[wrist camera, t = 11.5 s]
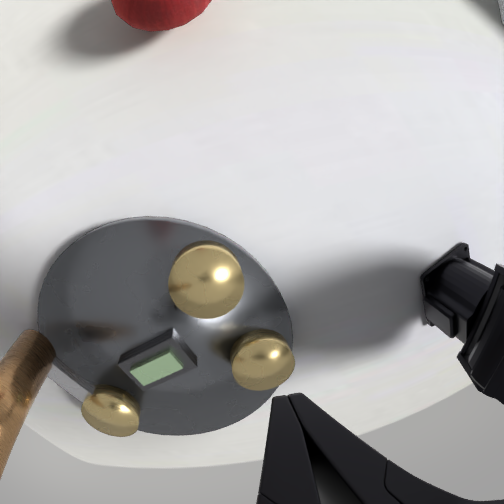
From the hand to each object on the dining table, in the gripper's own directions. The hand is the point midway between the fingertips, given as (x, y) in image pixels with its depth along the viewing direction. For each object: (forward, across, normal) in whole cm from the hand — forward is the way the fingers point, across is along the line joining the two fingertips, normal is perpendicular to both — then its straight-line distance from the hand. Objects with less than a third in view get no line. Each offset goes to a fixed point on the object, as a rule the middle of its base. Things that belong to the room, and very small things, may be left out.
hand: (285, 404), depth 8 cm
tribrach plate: (+13, +6, +7) cm, 16 cm away
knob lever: (+12, +14, +10) cm, 20 cm away
